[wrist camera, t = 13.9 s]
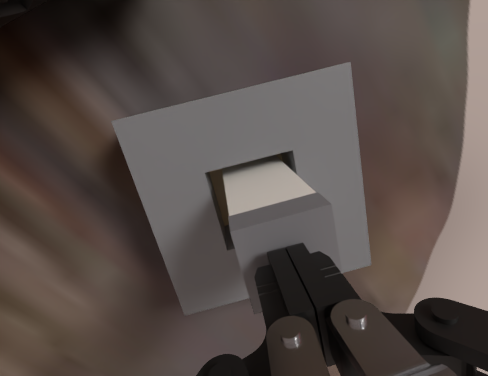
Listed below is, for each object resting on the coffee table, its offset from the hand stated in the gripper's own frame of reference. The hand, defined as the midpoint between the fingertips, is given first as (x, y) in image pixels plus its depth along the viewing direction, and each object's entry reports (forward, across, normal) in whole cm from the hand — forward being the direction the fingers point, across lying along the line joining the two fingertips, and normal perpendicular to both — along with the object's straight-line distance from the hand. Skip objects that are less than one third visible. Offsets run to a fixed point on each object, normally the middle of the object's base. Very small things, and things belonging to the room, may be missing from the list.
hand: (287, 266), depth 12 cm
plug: (+11, 0, 0) cm, 11 cm away
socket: (+12, 0, 0) cm, 12 cm away
